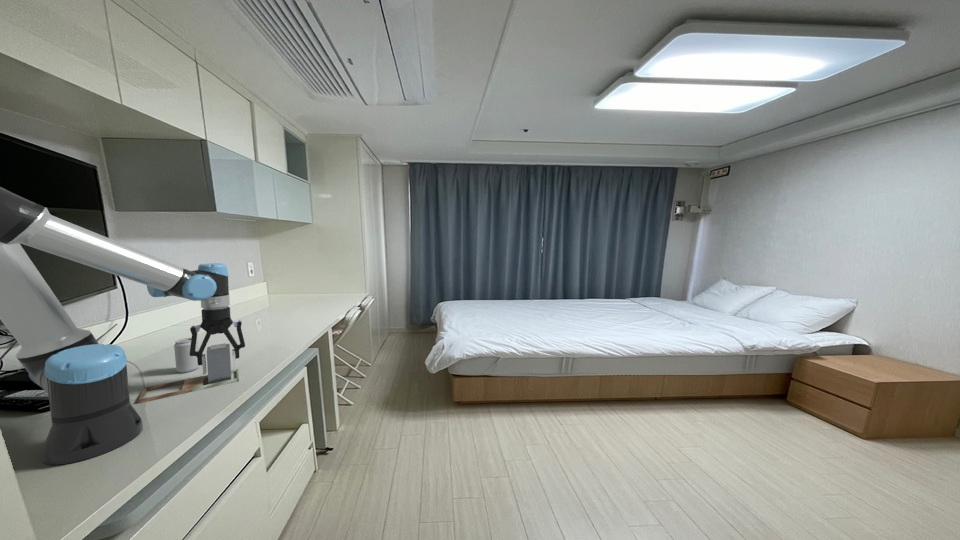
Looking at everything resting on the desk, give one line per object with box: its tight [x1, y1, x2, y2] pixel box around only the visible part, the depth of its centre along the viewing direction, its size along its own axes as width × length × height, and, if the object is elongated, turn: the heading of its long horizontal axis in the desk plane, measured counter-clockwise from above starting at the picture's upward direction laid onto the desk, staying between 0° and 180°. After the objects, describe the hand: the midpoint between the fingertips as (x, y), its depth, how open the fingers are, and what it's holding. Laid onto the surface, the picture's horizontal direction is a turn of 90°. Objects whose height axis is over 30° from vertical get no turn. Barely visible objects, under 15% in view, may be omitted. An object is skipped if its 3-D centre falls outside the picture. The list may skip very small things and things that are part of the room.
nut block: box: [206, 342, 232, 384], centre depth 106 cm, size 6×6×13 cm
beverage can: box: [173, 337, 201, 374], centre depth 114 cm, size 6×6×12 cm
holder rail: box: [137, 368, 240, 404], centre depth 102 cm, size 24×10×1 cm, turn 130°
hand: (220, 370), depth 106 cm, fingers open, 7 cm apart
